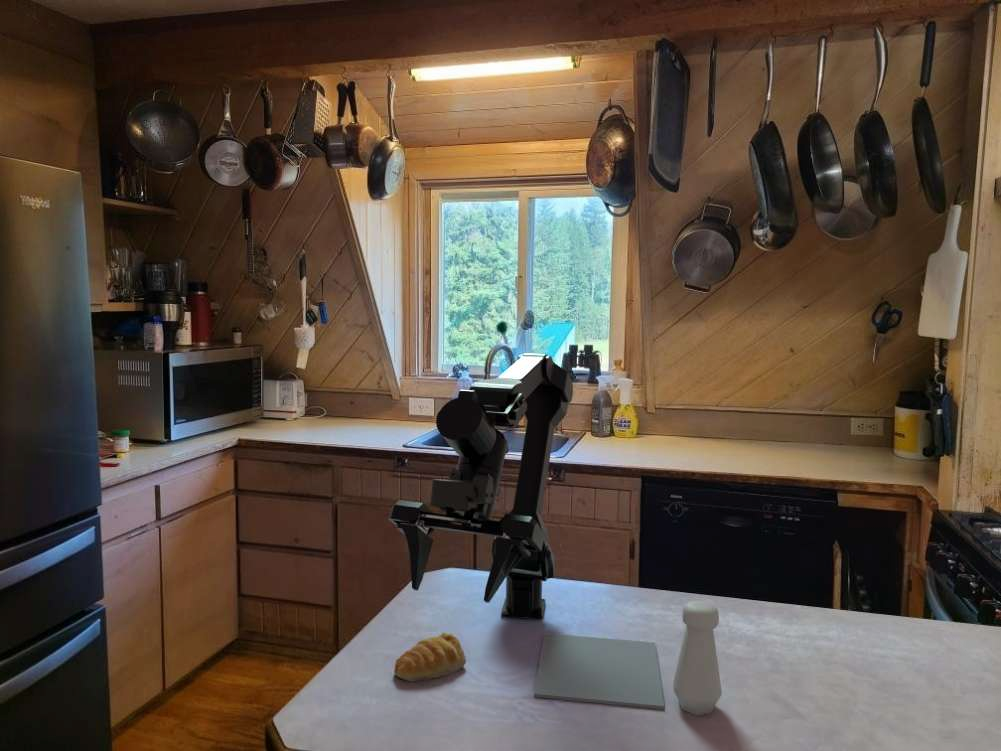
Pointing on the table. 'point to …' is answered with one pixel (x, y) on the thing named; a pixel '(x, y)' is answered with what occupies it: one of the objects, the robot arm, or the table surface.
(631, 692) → the slate mat
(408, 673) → the pastry
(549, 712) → the table surface
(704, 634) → the salt shaker
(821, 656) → the table surface
